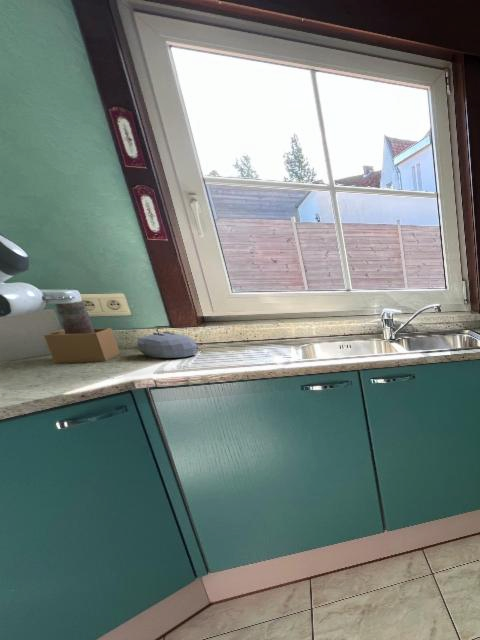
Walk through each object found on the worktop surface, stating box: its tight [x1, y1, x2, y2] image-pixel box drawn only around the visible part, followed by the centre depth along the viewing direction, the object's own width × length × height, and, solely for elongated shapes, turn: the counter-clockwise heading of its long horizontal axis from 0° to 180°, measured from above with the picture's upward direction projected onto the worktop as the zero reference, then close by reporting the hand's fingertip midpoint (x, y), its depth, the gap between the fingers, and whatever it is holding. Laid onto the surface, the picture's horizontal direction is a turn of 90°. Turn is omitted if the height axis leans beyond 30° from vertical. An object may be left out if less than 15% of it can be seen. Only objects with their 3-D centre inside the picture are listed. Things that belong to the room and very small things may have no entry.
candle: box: [54, 299, 95, 334], centre depth 170 cm, size 8×7×20 cm
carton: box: [43, 327, 121, 364], centre depth 173 cm, size 13×13×10 cm
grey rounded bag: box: [136, 331, 198, 359], centre depth 181 cm, size 15×8×20 cm
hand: (46, 294), depth 156 cm, fingers open, 8 cm apart
